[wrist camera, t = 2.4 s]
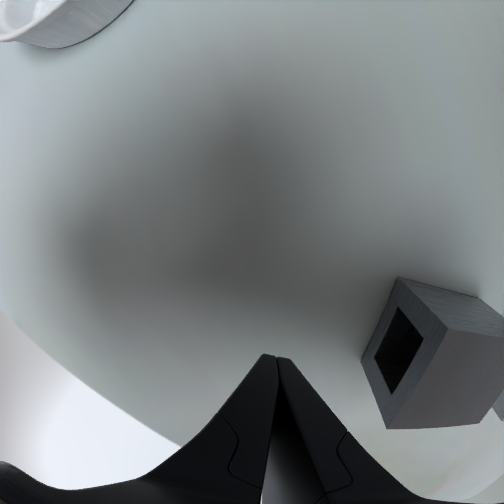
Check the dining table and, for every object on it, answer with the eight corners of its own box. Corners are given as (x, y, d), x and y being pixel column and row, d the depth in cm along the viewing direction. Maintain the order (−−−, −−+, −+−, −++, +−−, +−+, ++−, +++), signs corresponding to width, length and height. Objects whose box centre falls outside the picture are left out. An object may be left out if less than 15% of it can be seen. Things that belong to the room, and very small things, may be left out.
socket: (480, 299, 13) (531, 341, 8) (443, 370, 14) (479, 423, 9) (397, 277, 13) (448, 328, 8) (360, 361, 14) (386, 429, 9)
